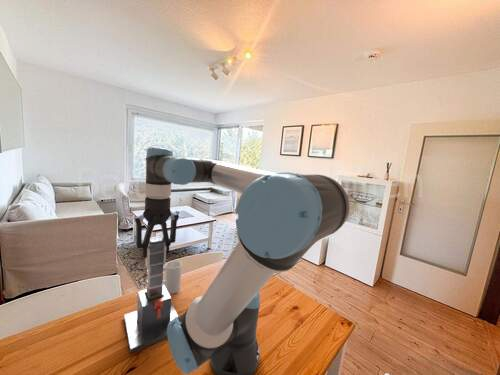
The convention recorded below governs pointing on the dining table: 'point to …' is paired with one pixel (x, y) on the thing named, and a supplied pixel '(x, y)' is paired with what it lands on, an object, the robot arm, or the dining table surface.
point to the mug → (172, 276)
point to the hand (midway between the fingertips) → (155, 264)
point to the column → (155, 268)
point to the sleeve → (149, 320)
